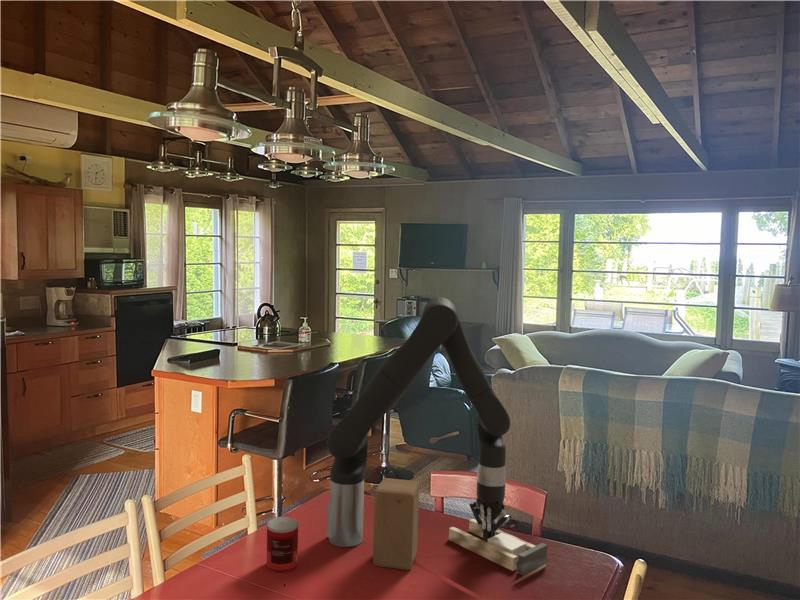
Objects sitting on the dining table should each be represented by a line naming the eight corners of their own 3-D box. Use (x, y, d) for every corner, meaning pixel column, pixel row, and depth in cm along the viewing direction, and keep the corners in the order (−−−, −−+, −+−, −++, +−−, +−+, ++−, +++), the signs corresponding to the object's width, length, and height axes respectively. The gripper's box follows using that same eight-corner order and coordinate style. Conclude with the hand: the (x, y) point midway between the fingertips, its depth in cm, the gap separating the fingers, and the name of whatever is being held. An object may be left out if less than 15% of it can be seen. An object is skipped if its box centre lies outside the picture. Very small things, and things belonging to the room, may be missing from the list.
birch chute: (445, 541, 176) (446, 521, 175) (469, 531, 183) (470, 512, 182) (522, 578, 157) (523, 556, 156) (546, 566, 164) (547, 545, 163)
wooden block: (410, 572, 159) (413, 494, 157) (371, 566, 161) (373, 490, 159) (417, 553, 168) (420, 480, 167) (380, 548, 170) (382, 476, 169)
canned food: (285, 554, 166) (286, 514, 165) (303, 566, 160) (304, 524, 159) (260, 564, 160) (260, 522, 159) (278, 576, 155) (278, 533, 154)
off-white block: (486, 553, 168) (487, 538, 167) (501, 546, 172) (501, 532, 171) (511, 565, 162) (512, 550, 162) (525, 558, 166) (526, 543, 166)
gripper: (463, 476, 172) (460, 537, 174) (502, 490, 163) (499, 556, 164) (481, 470, 177) (478, 530, 179) (519, 484, 168) (516, 547, 169)
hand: (488, 542), depth 171 cm, fingers closed
